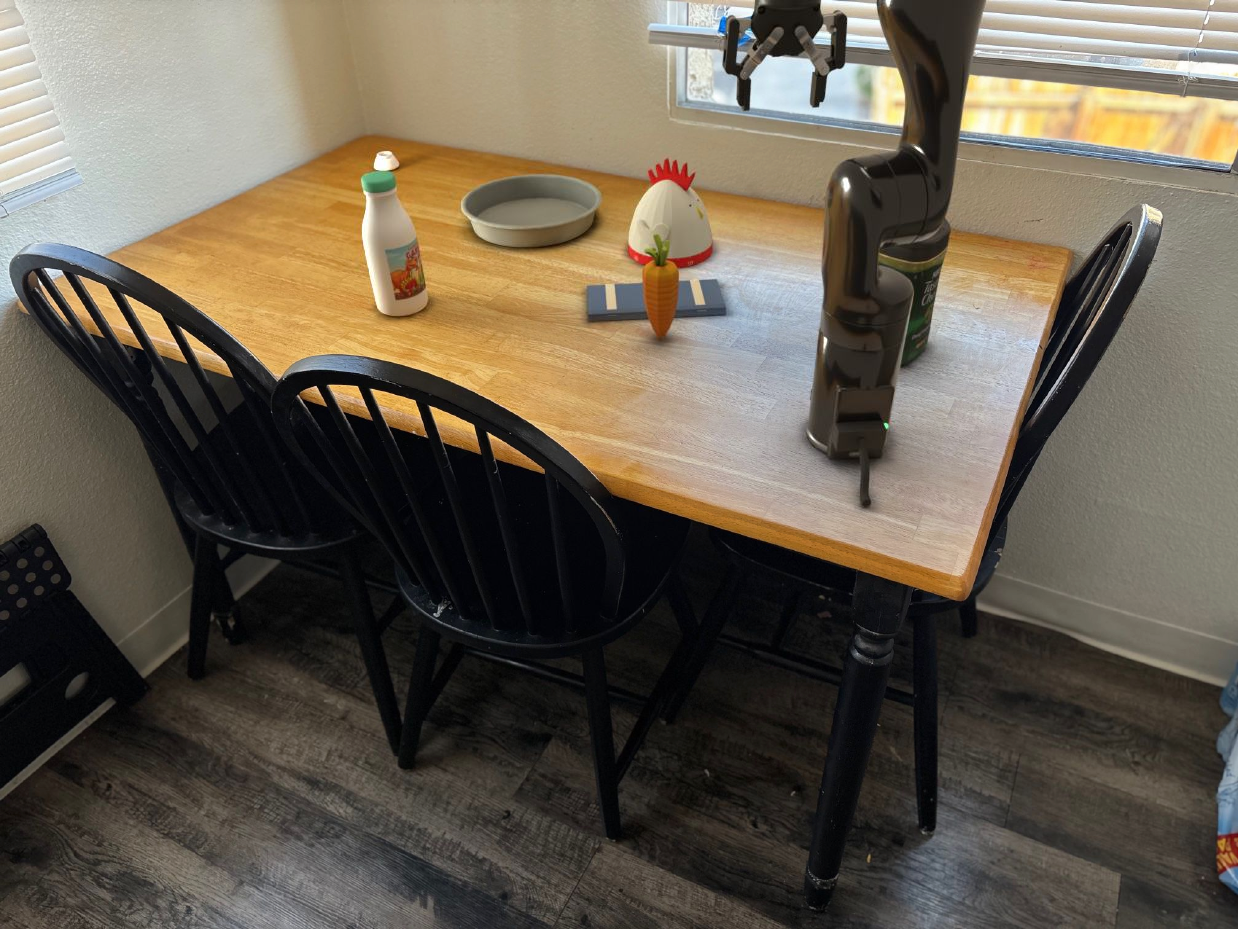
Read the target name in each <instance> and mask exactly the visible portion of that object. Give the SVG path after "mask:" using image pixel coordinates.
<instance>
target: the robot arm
mask: <svg viewBox="0 0 1238 929" xmlns="http://www.w3.org/2000/svg"><path fill="white" fill-rule="evenodd" d="M875 4H876V11H877V17H878V19H879V24H880V28H881V30H882V33H883V36H884V39H885V42H886V44H887V46H888V49H889V51H890V55H891V56H892V59H893V61H894V63H895V65H896V68H897V71H898V74H899V76H900V80H901V83H902V86H903V92H904V93H903V94H904V115H903V122H902V128H901V134H900V138H899V142H898V145H897V148H896V149H895V150H890V151H882V152H877V153H871V154H865V155H859V156H854V157H849V158H846V159H843V160H842V161H841V162H839V163H838V164H837V165H836V166H835V168H834V170H833V171H832V172H831V175H830V177H829V180H828V183H827V187H826V192H825V199H824V213H823V235H822V248H821V250H822V251H821V279H822V288H823V289H822V290H823V292H822V303H821V311H820V318H819V327H818V334H817V335H818V336H817V342H816V343H817V344H816V350H815V351H816V352H815V360H814V369H813V377H812V385H811V389H810V397H809V400H810V402H809V403H810V404H809V410H808V411H809V413H808V420H807V422H806V424H807V425H806V430H805V431H806V437H807V439H808V441H809V442H810V443H811V445H813V446H814V447H815V448H816V449H818V450H819V451H821V452H823V453H825V454H827V456H828V459H829V460H844V459H845V460H846V459H859V463H860V480H859V497H860V501H861V502H860V503H861V504H862V506H864V507H869V506H871V504H872V500H871V497H870V480H871V478H870V477H871V476H870V475H871V471H870V470H871V469H870V458H881V457H883V456H884V452H885V447H886V446H887V444H888V441H889V435H890V431H889V430H890V425H891V419H892V413H893V408H894V402H895V396H896V391H897V386H898V380H899V375H900V369H901V365H902V364H901V360H902V354H903V349H904V343H905V338H906V333H907V328H908V323H909V317H910V312H911V307H912V301H913V295H914V288H913V285H912V282H911V281H910V279H909V278H908V277H907V276H905V275H904V274H903V273H901V272H899V271H897V270H895V269H893V268H891V267H888V266H885V265H881V264H878V257H879V250H883V249H888V248H893V247H898V246H903V245H908V244H912V243H916V242H920V241H923V240H926V239H928V238H930V237H931V236H933V235H934V234H935V233H936V232H937V231H938V230H939V228H940V227H941V225H942V223H943V221H944V219H945V218H946V216H947V213H948V211H949V207H950V204H951V199H952V195H953V189H954V181H955V175H956V167H957V161H958V160H957V159H958V153H959V152H958V151H959V146H960V136H961V128H962V121H963V115H964V114H963V113H964V107H965V106H964V105H965V101H966V96H967V95H966V94H967V91H968V85H969V80H970V75H971V69H972V65H973V60H974V55H975V50H976V47H977V46H976V45H977V40H978V37H979V31H980V27H981V23H982V18H983V14H984V10H985V6H986V4H987V0H875ZM821 5H822V0H754V6H753V7H754V8H753V11H752V14H751V16H750V17H736V16H735V15H733V14H730V15H728V16H727V17H726V20H725V29H724V41H723V50H722V53H723V54H722V62H721V63H722V64H721V65H722V68H723V70H724V71H725V73H726V74H727V75H731V76H734V77H736V93H735V94H736V95H735V96H736V98H735V100H736V102H737V105H738V106H739V107H740V108H741V110H742V112H750V109H751V94H752V79H751V76H752V74H753V73H754V72H755V70H756V69H757V67H758V66H760V65H761V64H762V63H763V61H764V60H765V59H766V57H767V56H771V57H772V58H780V57H783V56H790V57H799V56H800V54H802V53H805V55H806V56H807V58H808V59H809V61H810V63H811V64H812V66H813V67H814V71H811V72H812V73H811V82H810V93H809V105H810V106H811V108H812V109H814V108H819V107H820V103H824V102H825V99H826V92H827V81H828V76H829V74H830V73H831V72H832V71H836V70H841V69H843V68H844V67H845V66H846V51H847V35H848V34H847V33H848V16H847V15H846V14H845V13H844V12H843V11H841V10H839V9H836V10H834V11H833V12H832V13H822V9H821ZM823 26H825V29H826V31H827V32H828V34H830V46H829V47H830V49H829V56H828V57H826V58H824V57H823V55H822V53H821V52H820V50H819V48H818V46H817V45H816V44H815V42H814V41H813V40H814V39H815V37H816V36H817V35H818V33H819V32H820V31H821V29H822V27H823ZM749 29H750V31H751V33H752V34H753V36H754V37H755V39H754V41H753V43H752V44H751V45H750V46H749V48H748V50H747V51H746V54H745V55H744V57H743V58H742V59H741V61H740V62H737V58H738V48H739V47H738V46H739V40H741V39H742V38H744V36H745V34H746V32H747V30H749Z"/></svg>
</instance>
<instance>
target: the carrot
mask: <svg viewBox="0 0 1238 929" xmlns="http://www.w3.org/2000/svg"><path fill="white" fill-rule="evenodd" d="M653 237H654V240H655V243H656V246H657V249H658V251H657V250H656V248H651V249H645V250H644V252H645V253H646V254H649V255H650V256H651V257H652V258H653V259H654V260H652V261H651V262H649V263H648V264H646V265H644V266H643V267H642V270H641V275H642V276H641V277H642V283H643V294H644V301H645V307H646V311H647V315H648V321H649V323H650V326H651V329H652V330H653V332H654V334H655V336H656V338H657V339H660V340H662V339H663V338H665V337H666V335H667V333H668V332H669V330H670V329H671V326H672V324H673V321H674V319H675V317H674V315H675V311H676V306H677V301H678V288H679V281H680V271H679V268H677V267H676V265H675V263H673V262H671V261H668V260H666V259H667V256H668V252H669V246H670V242H669V241H668V240H665V246H664V247H663V245H662V241H661V238H660V236H659V234H654V235H653ZM658 253H659V254H658Z"/></svg>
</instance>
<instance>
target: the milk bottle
mask: <svg viewBox="0 0 1238 929" xmlns="http://www.w3.org/2000/svg"><path fill="white" fill-rule="evenodd" d="M360 182H361V186H362V190H363V195H365V197H366V204H365V205H366V206H365V211H364V212H365V213H364V216H363V220H362V225H361V226H362V227H361V234H362V243H363V249H364V254H365V260H366V263H367V268H368V274H369V278H370V282H371V287H372V291H373V296H374V300H375V304H376V307H377V309H378V311H379V312H380V313H382V314H383V315H385V316H390V317H403V316H405V317H406V316H410V315H413V314H417V313H418V312H420V311H422V310H423V309H425V308H426V307H427V305H428V302H429V297H428V290H427V283H426V279H425V274H424V273H425V272H424V267H423V262H422V257H421V256H422V255H421V250H420V246H419V241H418V236H417V232H416V229H415V226H414V223H413V220H412V218H411V217H410V216H409V214H408V212H407V211H406V210H405V208H404V206H403V205H402V203H401V201H400V199H399V198H398V194H397V191H398V187H397V181H396V176H395V174H394V173H393V172H391V171H380V170H375V171H370V172H368V173H365V174H363V175H362V177H361V179H360Z"/></svg>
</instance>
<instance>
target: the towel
mask: <svg viewBox="0 0 1238 929" xmlns="http://www.w3.org/2000/svg"><path fill="white" fill-rule="evenodd" d="M720 288H721V287H720V284H719V281H718V279H717V278H710V279H708V278H707V279H699V278H696V279H695V278H694V279H688V280H679V288H678V301H677V306H676V311H675V315H674V318H683V317H685V318H686V317H703V316H725V315H726V314H727V305H726V303H725V302H724V298H723V295H722V292H721V289H720ZM586 292H587V317H588V318H587V319H588V322H608V321H626V320H645V319H648V315H647V311H646V307H645V301H644V294H643V282H633V283H631V282H629V283H605V284H593V285H587V286H586ZM648 320H649V319H648Z"/></svg>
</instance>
